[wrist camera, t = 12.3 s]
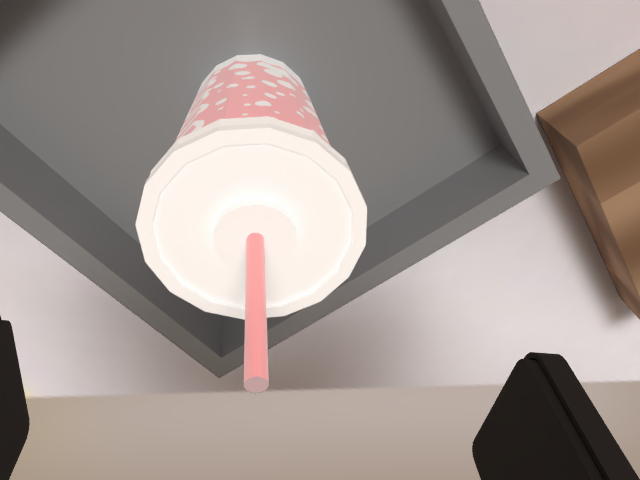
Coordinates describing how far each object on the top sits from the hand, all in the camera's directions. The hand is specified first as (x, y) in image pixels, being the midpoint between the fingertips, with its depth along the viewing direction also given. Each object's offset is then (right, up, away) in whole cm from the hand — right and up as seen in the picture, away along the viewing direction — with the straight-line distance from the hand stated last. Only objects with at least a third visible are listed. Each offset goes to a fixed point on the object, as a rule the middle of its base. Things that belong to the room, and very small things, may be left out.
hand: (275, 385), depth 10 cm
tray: (-2, +8, +12) cm, 15 cm away
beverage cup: (-2, +8, +12) cm, 14 cm away
